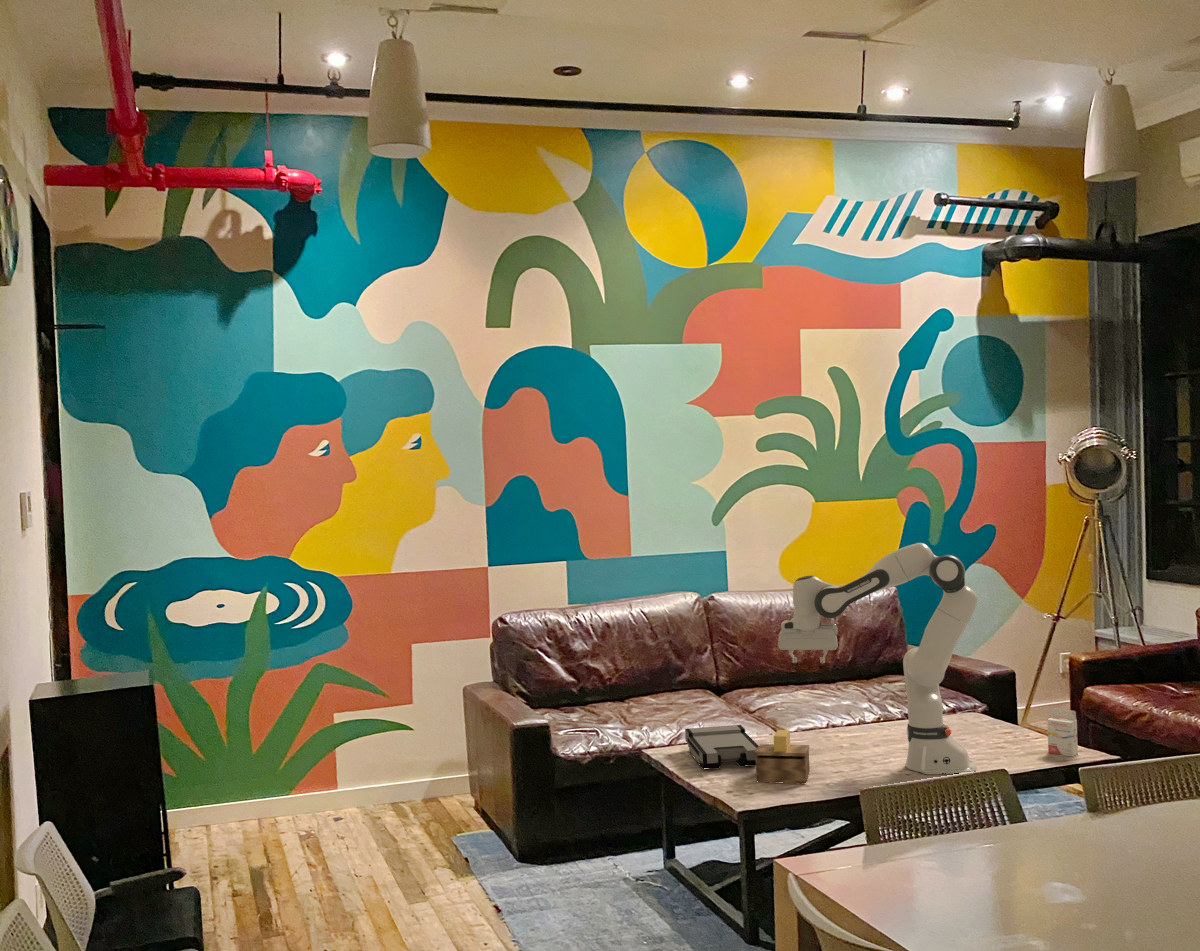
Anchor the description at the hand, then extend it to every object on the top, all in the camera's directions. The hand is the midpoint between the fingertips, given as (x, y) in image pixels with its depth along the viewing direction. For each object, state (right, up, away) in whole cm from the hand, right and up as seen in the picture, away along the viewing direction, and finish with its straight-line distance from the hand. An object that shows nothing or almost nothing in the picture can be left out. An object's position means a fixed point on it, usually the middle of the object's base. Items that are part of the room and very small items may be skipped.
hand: (808, 662), depth 384 cm
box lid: (-12, -26, -18) cm, 34 cm away
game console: (-29, -36, +8) cm, 47 cm away
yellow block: (-12, -25, -18) cm, 33 cm away
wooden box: (-12, -35, -18) cm, 41 cm away
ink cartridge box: (+86, -31, -4) cm, 92 cm away
